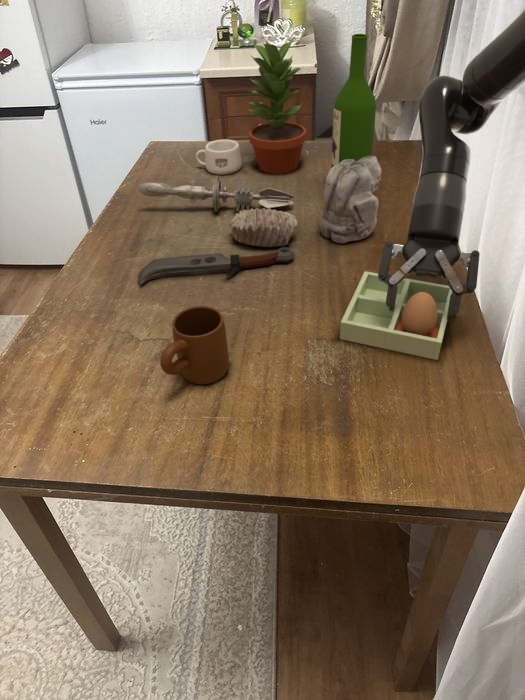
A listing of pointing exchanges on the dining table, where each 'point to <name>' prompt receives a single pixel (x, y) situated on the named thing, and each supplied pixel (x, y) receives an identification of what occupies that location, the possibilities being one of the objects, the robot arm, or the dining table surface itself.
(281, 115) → the potted plant
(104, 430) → the dining table surface
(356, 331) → the egg tray
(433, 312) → the egg
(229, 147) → the mug
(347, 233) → the figurine
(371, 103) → the wine bottle
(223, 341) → the mug
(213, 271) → the knife
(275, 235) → the seashell
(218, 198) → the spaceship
